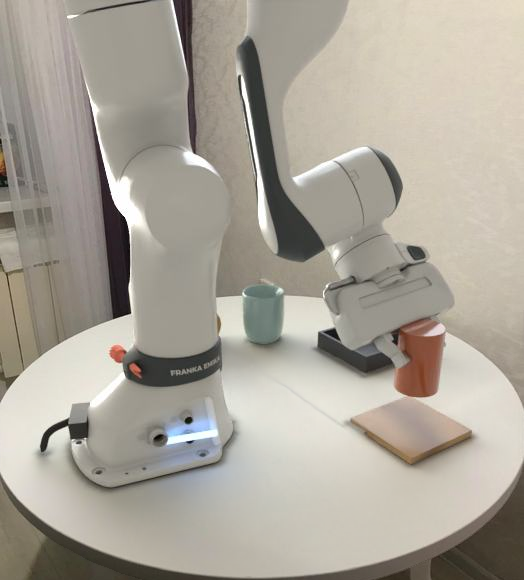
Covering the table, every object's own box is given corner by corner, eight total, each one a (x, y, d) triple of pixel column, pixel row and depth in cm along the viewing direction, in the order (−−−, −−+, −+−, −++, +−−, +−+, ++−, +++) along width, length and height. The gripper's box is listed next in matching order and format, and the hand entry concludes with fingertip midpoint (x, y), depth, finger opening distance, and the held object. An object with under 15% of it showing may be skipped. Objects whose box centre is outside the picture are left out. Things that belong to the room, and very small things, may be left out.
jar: (416, 402, 78) (423, 340, 74) (384, 384, 82) (389, 325, 78) (447, 389, 81) (455, 329, 77) (415, 373, 85) (421, 315, 81)
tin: (364, 376, 99) (366, 357, 98) (317, 349, 109) (317, 331, 108) (419, 357, 106) (421, 339, 104) (369, 333, 116) (370, 316, 114)
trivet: (410, 464, 77) (411, 458, 76) (349, 423, 86) (350, 418, 86) (471, 436, 83) (472, 430, 82) (408, 400, 92) (409, 395, 91)
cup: (236, 345, 111) (235, 295, 107) (253, 330, 118) (252, 282, 114) (275, 351, 109) (275, 300, 104) (289, 335, 115) (290, 287, 111)
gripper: (330, 274, 73) (384, 371, 71) (433, 245, 85) (483, 327, 82) (306, 298, 79) (355, 389, 76) (405, 267, 90) (452, 346, 87)
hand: (422, 357), depth 79 cm, fingers closed on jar, 6 cm apart
